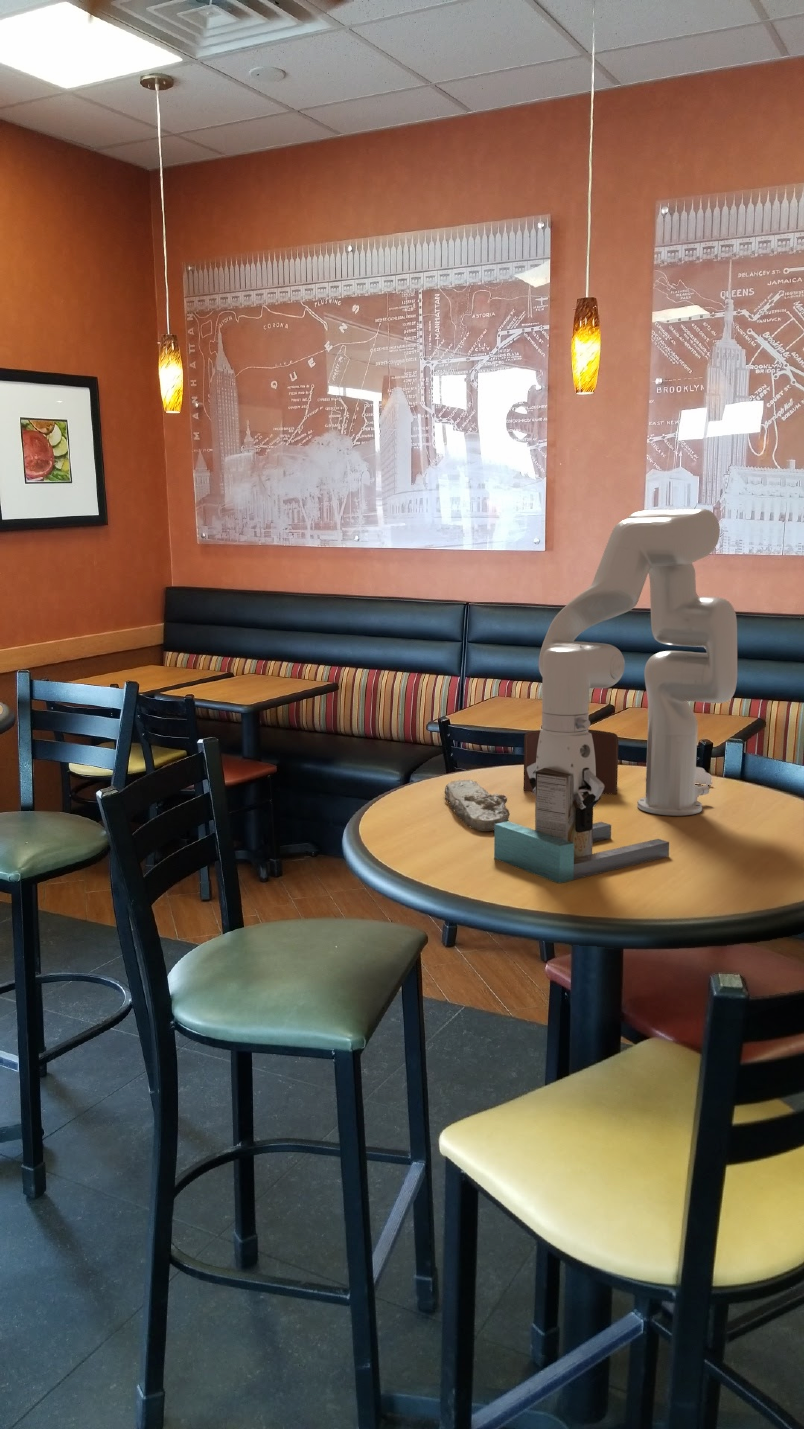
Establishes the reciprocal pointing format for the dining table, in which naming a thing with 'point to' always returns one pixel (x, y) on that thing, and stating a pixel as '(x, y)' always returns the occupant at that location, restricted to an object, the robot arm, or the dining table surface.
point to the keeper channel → (567, 852)
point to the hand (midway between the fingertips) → (563, 824)
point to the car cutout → (702, 776)
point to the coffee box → (559, 810)
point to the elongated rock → (476, 805)
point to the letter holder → (603, 758)
